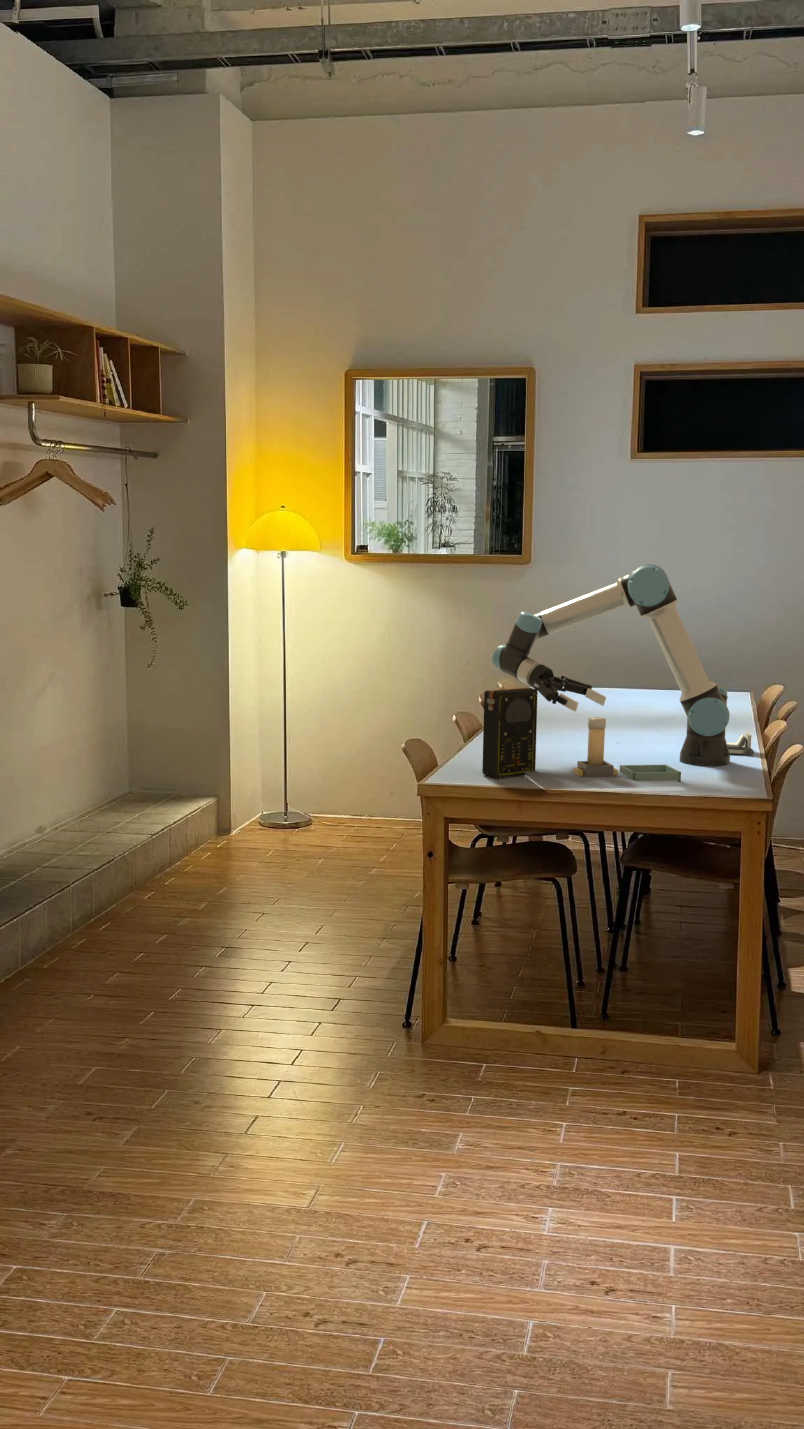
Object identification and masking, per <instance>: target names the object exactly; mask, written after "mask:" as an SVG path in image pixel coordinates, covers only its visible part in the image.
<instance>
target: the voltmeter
mask: <svg viewBox="0 0 804 1429" xmlns="http://www.w3.org/2000/svg"><path fill="white" fill-rule="evenodd" d="M538 692H539V691H538V690H537V689H534V688H532V687H530V686H529V687H528V686H526V687H515V688H503V689H502V688H501V689H491V690H485V691H484V693H483V694H484V695H483V697H484V698H483V729H482V730H483V731H482V733H483V735H482V736H483V737H482V743H483V744H482V774H483V775H485V776H488V777H492V778H493V777H494V779H496V780H497V779H504V778H512V777H520V776H521V777H522V776H527V773H525V772H535V771H536V763H537V762H536V761H537V759H536V758H537V724H538V722H537V721H538Z"/></svg>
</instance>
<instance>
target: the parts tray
mask: <svg viewBox="0 0 804 1429" xmlns="http://www.w3.org/2000/svg"><path fill="white" fill-rule="evenodd" d="M619 773H620V774H622V775H623V776H625V777H627V778H628V779H630V780H633V781H650V780H651V781H652V780H653V781H656V780H658V781H659V780H663V781H664V780H665V781H666V780H675V781H677V782H678V783H682V782H681V781H682V771H680V770H678V769H677V768H674V767H672V766H669V765H667V764H630V765H629V764H621V765H619Z"/></svg>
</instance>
